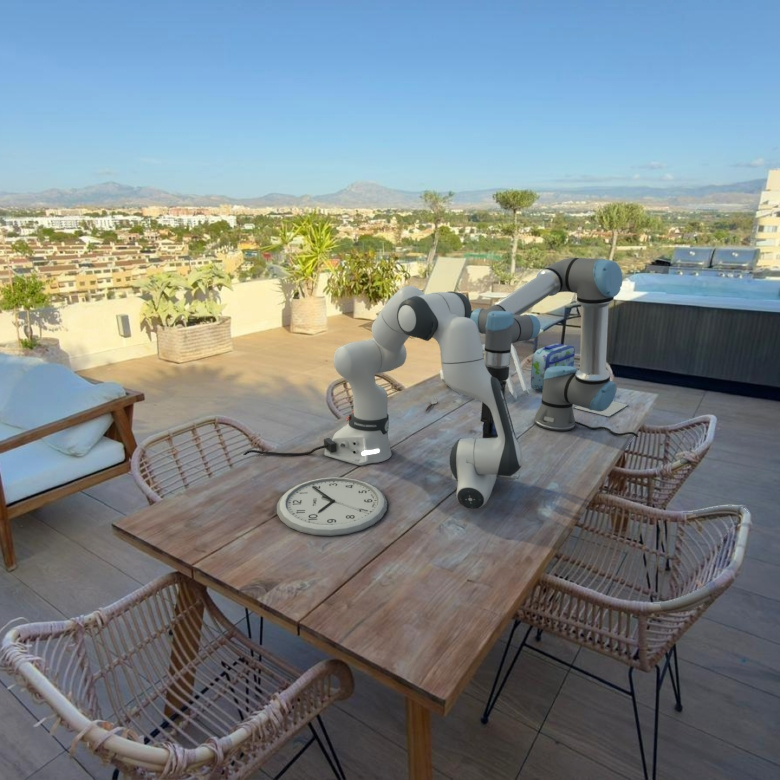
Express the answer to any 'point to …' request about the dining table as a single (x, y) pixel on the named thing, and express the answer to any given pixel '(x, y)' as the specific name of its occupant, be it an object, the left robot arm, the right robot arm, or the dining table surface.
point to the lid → (494, 429)
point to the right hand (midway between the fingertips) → (490, 438)
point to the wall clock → (331, 506)
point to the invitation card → (609, 411)
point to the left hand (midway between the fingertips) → (489, 454)
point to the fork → (432, 403)
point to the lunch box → (550, 361)
